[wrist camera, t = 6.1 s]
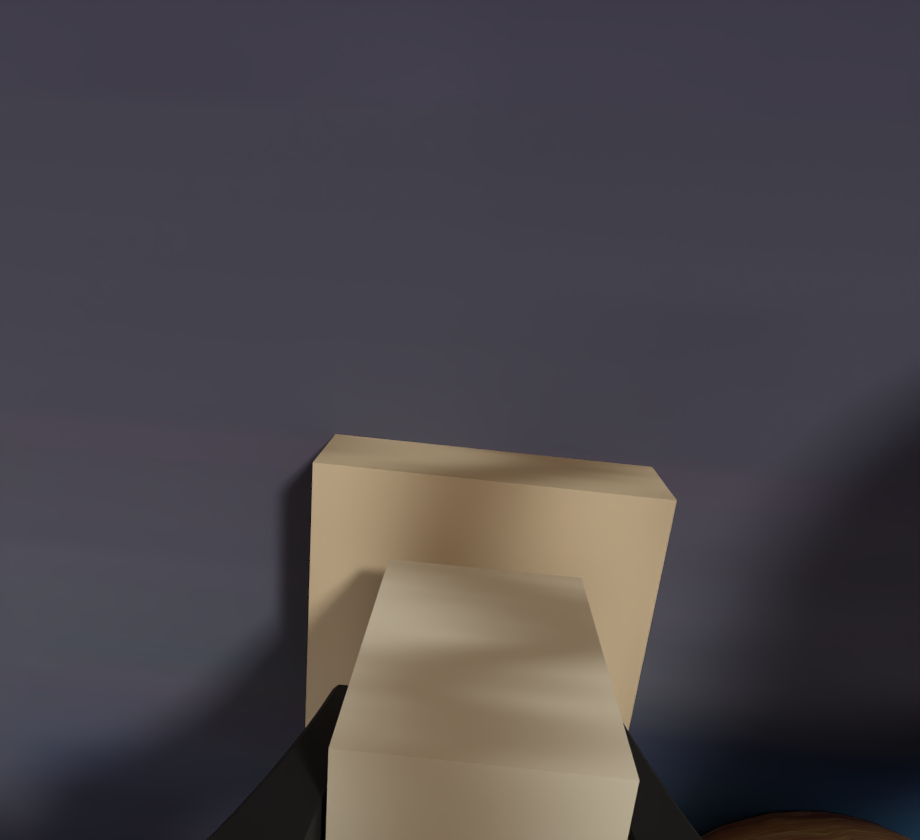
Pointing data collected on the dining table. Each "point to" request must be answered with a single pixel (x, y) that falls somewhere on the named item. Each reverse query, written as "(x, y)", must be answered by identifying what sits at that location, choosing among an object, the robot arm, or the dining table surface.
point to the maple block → (479, 714)
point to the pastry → (803, 828)
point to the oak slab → (481, 539)
